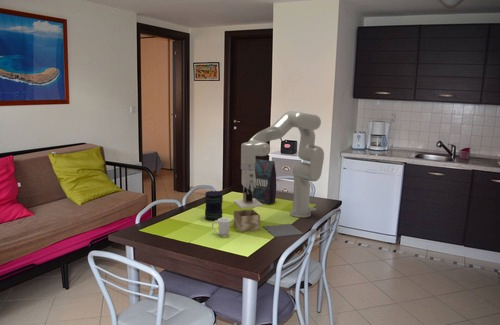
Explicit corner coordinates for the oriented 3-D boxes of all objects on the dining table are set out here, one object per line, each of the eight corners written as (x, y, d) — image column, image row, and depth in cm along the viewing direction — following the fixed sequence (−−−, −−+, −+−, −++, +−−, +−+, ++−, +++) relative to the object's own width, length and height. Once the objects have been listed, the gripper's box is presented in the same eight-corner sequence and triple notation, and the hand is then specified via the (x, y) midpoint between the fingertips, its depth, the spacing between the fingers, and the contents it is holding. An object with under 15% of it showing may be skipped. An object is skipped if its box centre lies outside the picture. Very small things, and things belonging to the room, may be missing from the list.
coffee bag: (269, 205, 270) (271, 162, 265) (248, 201, 278) (249, 159, 273) (276, 202, 277) (277, 160, 272) (254, 198, 285) (256, 157, 280)
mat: (290, 224, 233) (290, 223, 233) (303, 234, 219) (303, 233, 219) (263, 227, 228) (263, 226, 228) (274, 237, 213) (274, 236, 213)
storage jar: (225, 218, 240) (226, 193, 237) (213, 222, 233) (213, 196, 230) (214, 214, 247) (214, 190, 244) (201, 218, 240) (201, 192, 237)
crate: (252, 223, 234) (252, 209, 232) (259, 229, 224) (260, 215, 222) (233, 224, 230) (233, 210, 228) (239, 231, 220) (240, 216, 218)
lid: (254, 200, 232) (254, 189, 231) (262, 206, 221) (262, 194, 220) (233, 202, 228) (233, 190, 227) (240, 208, 217) (240, 196, 216)
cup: (228, 238, 210) (228, 222, 209) (209, 235, 213) (209, 220, 211) (232, 233, 217) (233, 218, 215) (214, 231, 220) (214, 216, 218)
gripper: (260, 169, 214) (260, 203, 218) (249, 162, 230) (249, 195, 233) (246, 169, 212) (246, 204, 215) (236, 163, 227) (236, 196, 231)
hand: (247, 199), depth 224 cm, fingers closed on lid, 4 cm apart
